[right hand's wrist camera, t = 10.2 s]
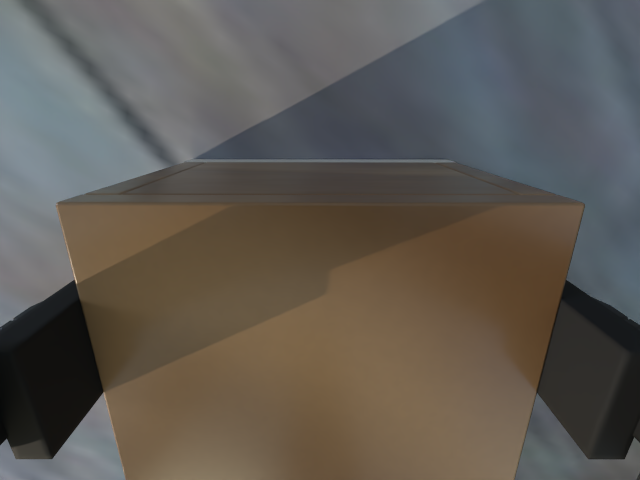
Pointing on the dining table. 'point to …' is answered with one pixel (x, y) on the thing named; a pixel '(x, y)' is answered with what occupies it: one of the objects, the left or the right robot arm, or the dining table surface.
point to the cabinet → (320, 316)
